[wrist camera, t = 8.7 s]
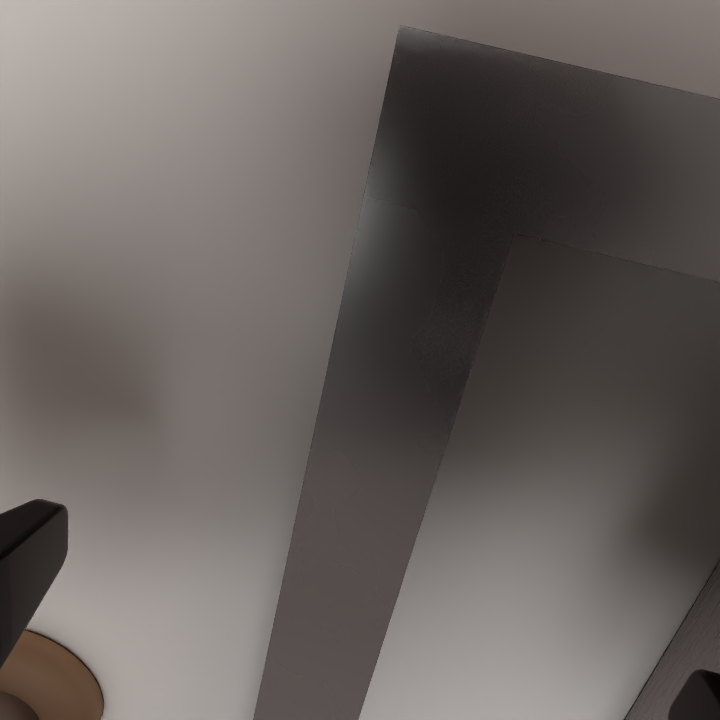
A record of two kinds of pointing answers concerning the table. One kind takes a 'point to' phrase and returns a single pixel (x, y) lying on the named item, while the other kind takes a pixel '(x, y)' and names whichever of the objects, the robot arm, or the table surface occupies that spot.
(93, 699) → the peg stand
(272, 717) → the grey frame
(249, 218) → the table surface
